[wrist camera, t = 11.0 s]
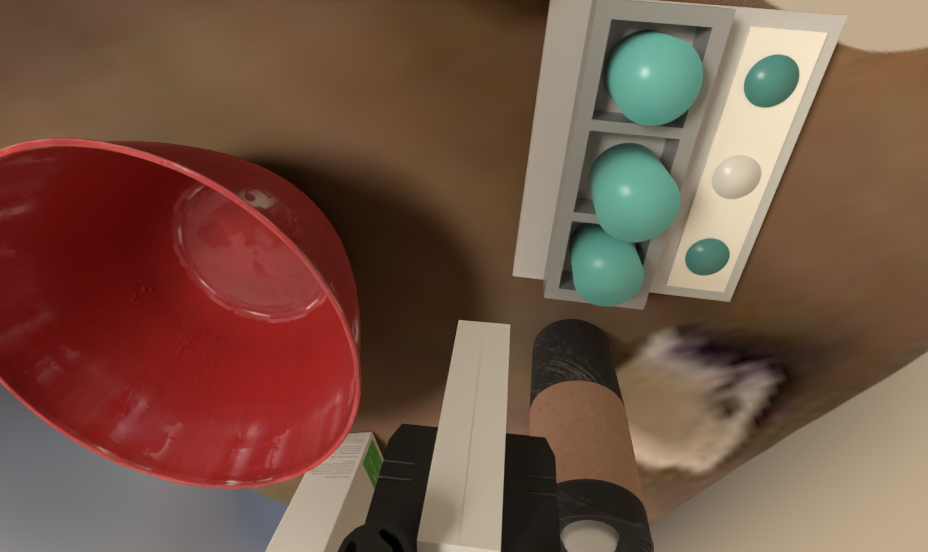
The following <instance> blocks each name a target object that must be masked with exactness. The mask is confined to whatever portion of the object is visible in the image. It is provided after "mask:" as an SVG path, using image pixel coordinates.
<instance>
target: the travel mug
mask: <svg viewBox="0 0 928 552" xmlns="http://www.w3.org/2000/svg"><path fill="white" fill-rule="evenodd" d="M530 436H536V437H545V438H546V439H547V441H548V443H549V445H550V447H551V449H552V451H553V453H554V455H555V461H556V481H557V498H558V510H559V526H560V543H561V552H654V545H653V542H652V538H651V535H650V529H649V524H648V519H647V514H646V510H645V505H644V500H643V495H642V490H641V485H640V480H639V475H638V470H637V465H636V460H635V455H634V450H633V445H632V440H631V436H630V431H629V426H628V421H627V416H626V411H625V407H624V403H623V399H622V395H621V392H620V388H619V384H618V380H617V376H616V372H615V369H614V365H613V361H612V357H611V353H610V350H609V346H608V343H607V340H606V338H605V336H604V335H603V333H602V332H601V331H600V330H599V329H598V328H596V327H595V326H594V325H592V324H590V323H588V322H585V321H581V320H573V319H569V320H561V321H557V322H554V323H552V324H550V325H548V326H547V327H545V328H544V329H543V330H542V331H541V332H540V333H539V334H538V336H537V338H536V340H535V342H534V347H533V357H532V376H531V396H530Z"/></svg>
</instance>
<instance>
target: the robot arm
mask: <svg viewBox="0 0 928 552" xmlns="http://www.w3.org/2000/svg"><path fill="white" fill-rule="evenodd" d="M509 343H510V324H499V323H487V322H476V321H465V320H459V321H458V327H457V332H456V337H455V342H454V348H453V353H452V358H451V363H450V369H449V374H448V379H447V384H446V390H445V395H444V400H443V405H442V411H441V416H440V421H439V426H438V427H429V426H420V425H410V424H401V426H400V427H399V428H398V429H397V431H396V432H395V433H394V434H393V435H392V437H391V438H390V439H389V441H388V445H387V448H386V452H385V455H384V459H383V463H382V465H381V469H380V472H379V478H378V479H377V483H376V486H375V490H374V493H373V496H372V500H371V503H370V507H369V510H368V514H367V517H366V521H365V524H364V525H361V526H359V527H357V528H355V529H354V530H353V531H352V532H351V533H350V534H349V535H347V536H346V537H345V538H344V540H343V542H342V544H341V545H340V547H339V549H338V551H337V552H561V543H560V526H559V510H558V498H557V481H556V461H555V455H554V453H553V451H552V449H551V447H550V445H549V443H548V441H547V439H546V438H545V437H536V436H526V435H517V434H507V433H506V414H507V390H508V367H509Z"/></svg>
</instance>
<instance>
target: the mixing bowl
mask: <svg viewBox="0 0 928 552" xmlns="http://www.w3.org/2000/svg"><path fill="white" fill-rule="evenodd" d="M360 352H361V323H360V311H359V303H358V295H357V288H356V284H355V279H354V275H353V272H352V268H351V265H350V263H349V260H348V257H347V254H346V251H345V249H344V246H343V244H342V242H341V240H340V238H339V236H338V234H337V233H336V231H335V229H334V228H333V226H332V224H331V223H330V221H329V220H328V218H327V217H326V216H325V215H324V213H323V212H322V211H321V210H320V209H319V208H318V207H317V205H316V204H315V203H314V202H313V201H312V200H311V199H310V198H309V197H308V196H307V195H305V194H304V193H303V192H302V191H301V190H299V189H298V188H297V187H296V186H294V185H293V184H292V183H290V182H289V181H287V180H285V179H284V178H282V177H280V176H279V175H277V174H275V173H273V172H271V171H270V170H268V169H266V168H264V167H261V166H259V165H257V164H254V163H251V162H248V161H245V160H242V159H240V158H237V157H234V156H231V155H228V154H224V153H220V152H216V151H212V150H207V149H201V148H196V147H190V146H183V145H175V144H168V143H158V142H141V141H97V140H89V139H76V138H51V139H41V140H34V141H28V142H23V143H18V144H15V145H12V146H9V147H6V148H3V149H0V382H1V383H2V384H3V385H4V386H5V387H6V388H7V389H8V390H9V391H10V392H11V393H12V394H13V395H14V396H15V397H16V398H17V399H18V400H20V401H21V402H22V403H23V404H24V405H25V406H27V407H28V408H29V409H30V410H31V411H33V412H34V413H35V414H36V415H37V416H39V417H40V418H41V419H43V420H44V421H45V422H46V423H48V424H49V425H51V426H52V427H53V428H55V429H57V430H58V431H59V432H61V433H62V434H64V435H66V436H67V437H69V438H70V439H72V440H73V441H75V442H77V443H78V444H80V445H82V446H84V447H86V448H87V449H89V450H91V451H93V452H95V453H97V454H99V455H100V456H103V457H104V458H107V459H109V460H111V461H114V462H116V463H118V464H121V465H123V466H125V467H128V468H130V469H133V470H136V471H138V472H141V473H145V474H148V475H151V476H154V477H158V478H161V479H165V480H169V481H173V482H178V483H182V484H188V485H194V486H201V487H209V488H227V489H229V488H230V489H241V488H254V487H262V486H267V485H272V484H276V483H281V482H284V481H287V480H290V479H293V478H295V477H298V476H300V475H302V474H304V473H306V472H308V471H310V470H312V469H313V468H315V467H317V466H318V465H320V464H321V463H322V462H324V461H325V460H326V459H327V458H328V457H329V456H331V455H332V454H333V453H334V452H335V451H336V450H337V448H338V447H339V446H340V445H341V444H342V442H343V441H344V440H345V438H346V437H347V435H348V434H349V432H350V430H351V428H352V425H353V423H354V421H355V418H356V415H357V412H358V408H359V404H360V397H361V386H362V378H361V365H360Z"/></svg>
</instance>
